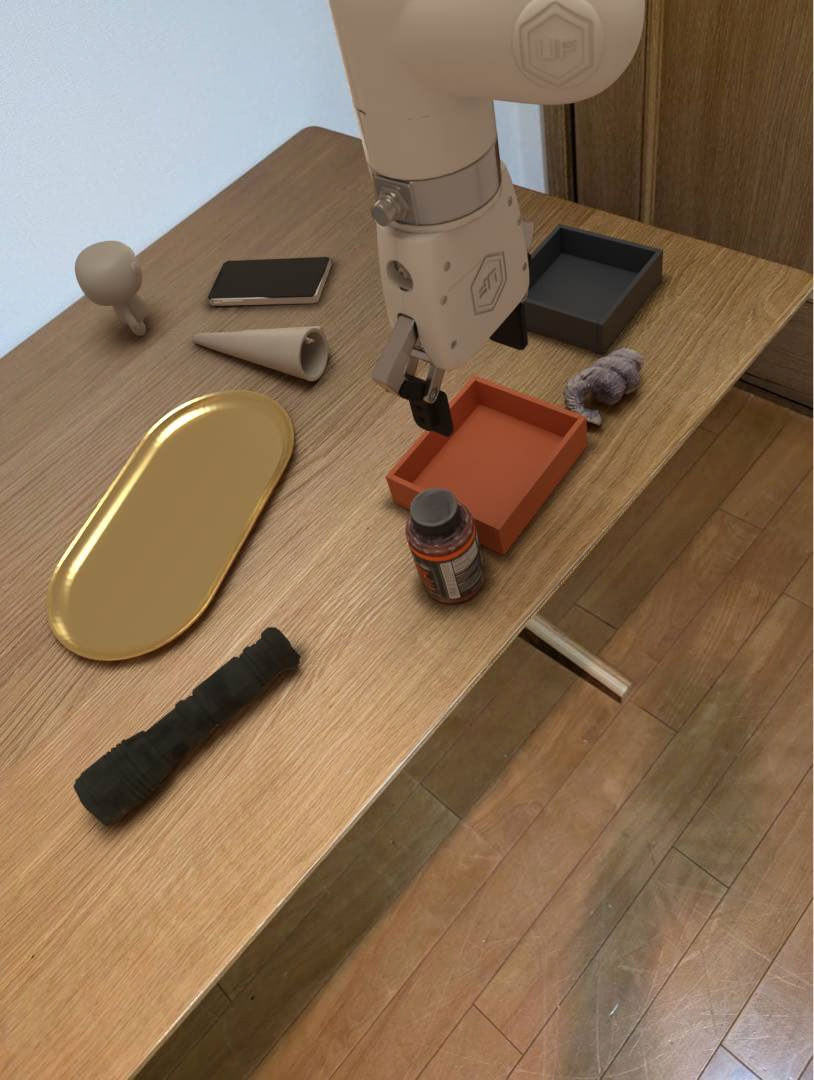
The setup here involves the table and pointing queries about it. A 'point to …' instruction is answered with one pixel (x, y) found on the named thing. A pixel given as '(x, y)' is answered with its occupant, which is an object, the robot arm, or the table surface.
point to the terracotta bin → (494, 458)
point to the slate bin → (588, 286)
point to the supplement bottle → (445, 546)
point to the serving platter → (169, 526)
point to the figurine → (113, 281)
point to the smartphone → (270, 281)
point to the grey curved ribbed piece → (604, 382)
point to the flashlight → (181, 729)
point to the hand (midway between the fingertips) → (472, 384)
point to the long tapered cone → (275, 348)
